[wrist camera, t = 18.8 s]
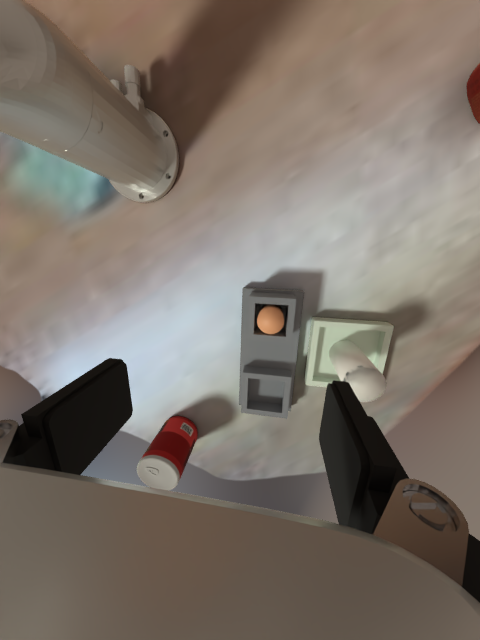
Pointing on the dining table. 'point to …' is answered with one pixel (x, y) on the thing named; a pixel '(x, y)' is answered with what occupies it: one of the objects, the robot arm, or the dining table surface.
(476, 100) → the snack package
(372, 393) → the cylinder
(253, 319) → the housing
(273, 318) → the tan rounded piece
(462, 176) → the dining table surface
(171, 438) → the canned food
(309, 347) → the tray
